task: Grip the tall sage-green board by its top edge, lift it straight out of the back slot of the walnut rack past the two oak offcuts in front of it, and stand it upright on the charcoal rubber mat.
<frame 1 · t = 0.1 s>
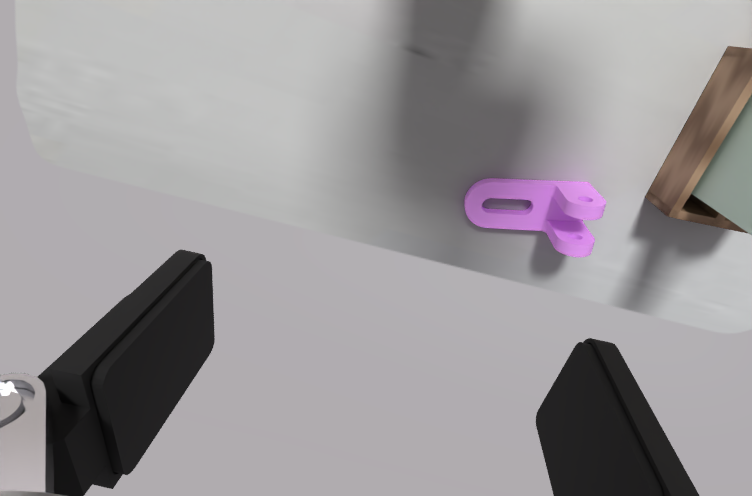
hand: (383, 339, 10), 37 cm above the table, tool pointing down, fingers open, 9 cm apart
walnut rack: (729, 138, 41), on the table
green board: (708, 133, 41), resting in walnut rack
bracket: (521, 201, 47), on the table
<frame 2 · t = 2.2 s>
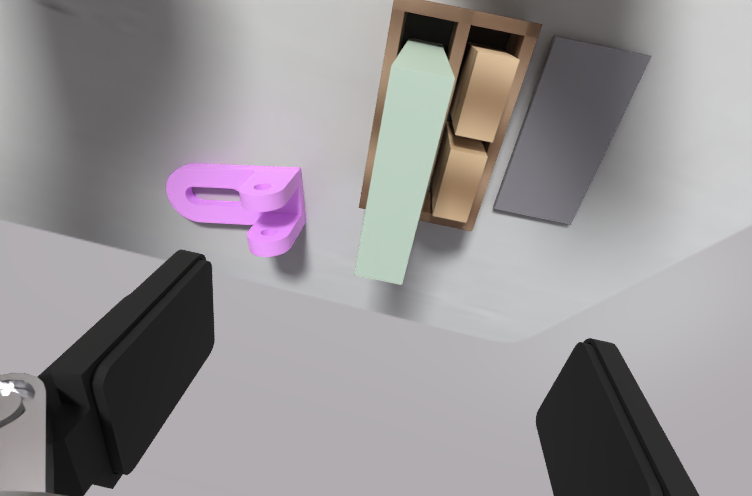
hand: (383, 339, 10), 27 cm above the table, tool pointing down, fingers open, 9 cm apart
walnut rack: (437, 113, 34), on the table
charcoal mat: (562, 138, 34), on the table
green board: (411, 107, 34), resting in walnut rack
oak offcut 1: (452, 153, 35), resting in walnut rack
bracket: (239, 191, 40), on the table
oak offcut 2: (473, 79, 32), resting in walnut rack
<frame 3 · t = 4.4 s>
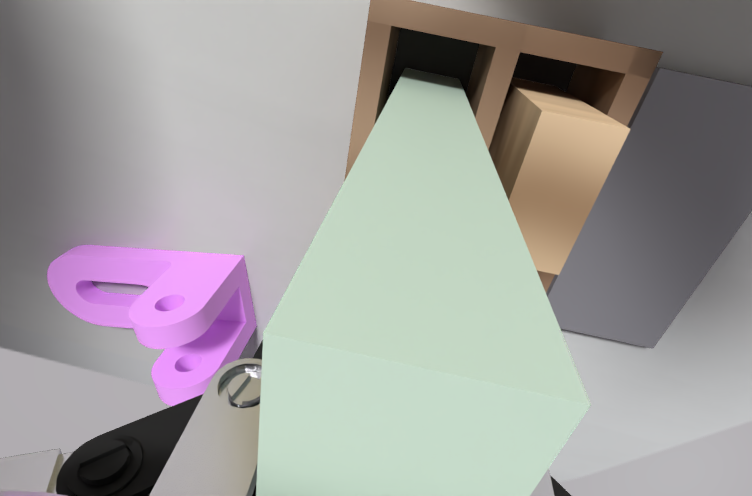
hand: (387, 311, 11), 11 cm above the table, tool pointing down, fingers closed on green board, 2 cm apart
walnut rack: (448, 184, 21), on the table
charcoal mat: (650, 226, 21), on the table
green board: (408, 176, 21), resting in walnut rack, touching gripper
bracket: (158, 282, 27), on the table
oak offcut 2: (509, 135, 20), resting in walnut rack
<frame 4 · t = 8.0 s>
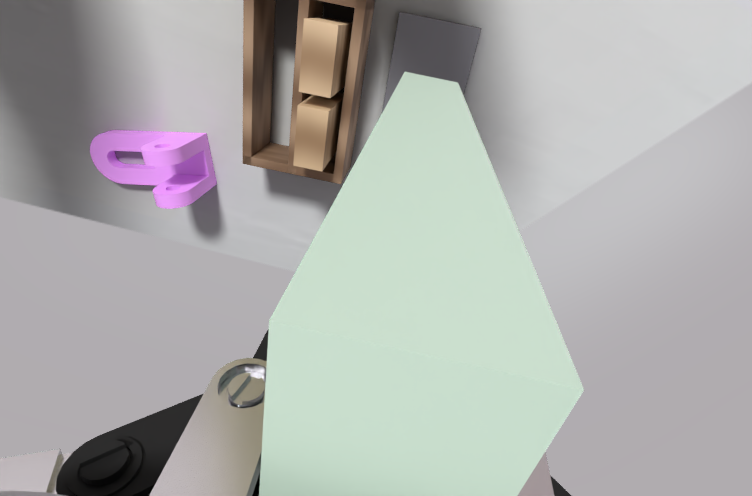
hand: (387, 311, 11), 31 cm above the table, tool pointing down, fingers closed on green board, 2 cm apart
walnut rack: (312, 81, 39), on the table
charcoal mat: (421, 104, 38), on the table
green board: (408, 178, 21), point 20 cm above the table, touching gripper
oak offcut 1: (331, 118, 40), resting in walnut rack
bracket: (156, 156, 45), on the table
oak offcut 2: (339, 51, 37), resting in walnut rack
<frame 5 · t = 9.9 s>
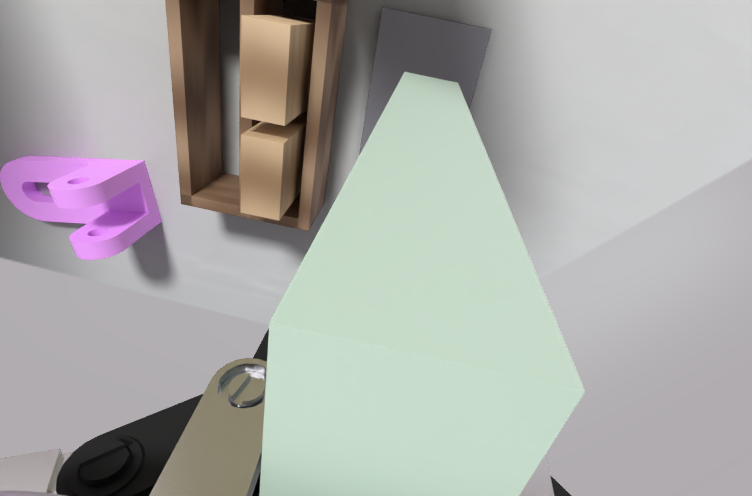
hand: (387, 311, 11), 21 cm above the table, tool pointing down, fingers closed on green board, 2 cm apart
walnut rack: (272, 97, 30), on the table
charcoal mat: (413, 126, 30), on the table
green board: (408, 178, 21), point 10 cm above the table, touching gripper
oak offcut 1: (298, 143, 31), resting in walnut rack
bracket: (86, 187, 36), on the table
oak offcut 2: (304, 59, 28), resting in walnut rack
when the fingers open (13 cm above the table, at t = 11.7 s): green board stays where it is, resting on charcoal mat.
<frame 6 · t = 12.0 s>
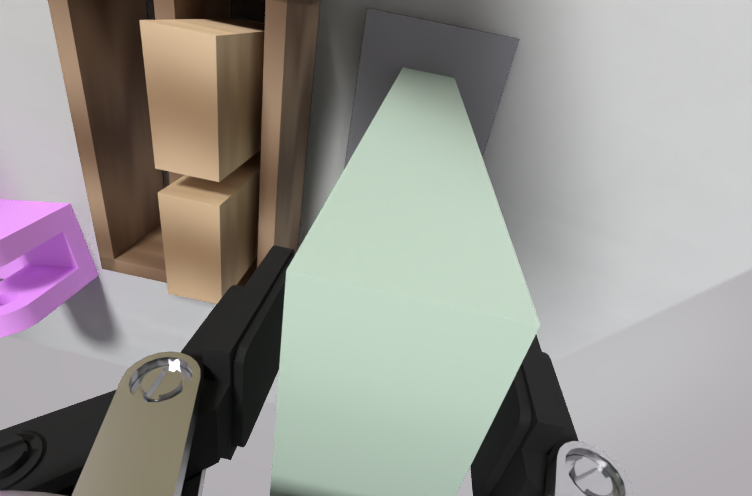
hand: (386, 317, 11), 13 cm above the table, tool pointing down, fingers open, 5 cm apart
walnut rack: (224, 127, 23), on the table
charcoal mat: (410, 166, 22), on the table
green board: (406, 171, 22), point 1 cm above the table, touching charcoal mat
oak offcut 1: (261, 185, 24), resting in walnut rack
bracket: (3, 233, 29), on the table
oak offcut 2: (264, 77, 21), resting in walnut rack
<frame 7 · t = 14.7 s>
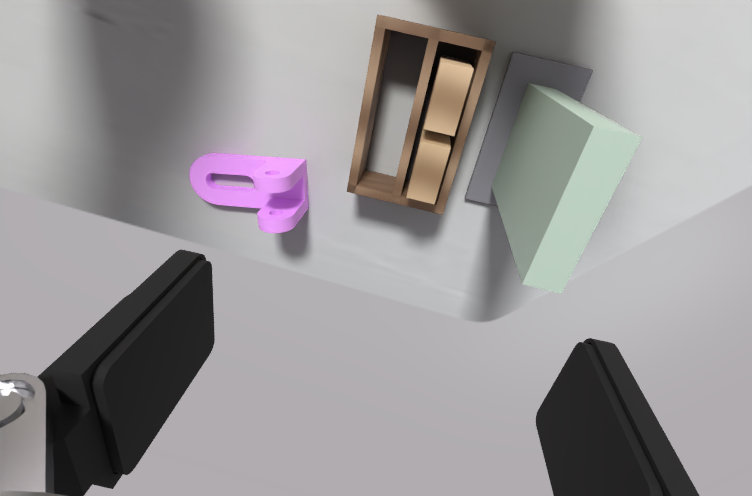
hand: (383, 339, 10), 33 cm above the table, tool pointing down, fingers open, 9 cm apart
walnut rack: (416, 113, 40), on the table
charcoal mat: (522, 138, 39), on the table
green board: (521, 140, 39), point 1 cm above the table, touching charcoal mat
oak offcut 1: (429, 148, 41), resting in walnut rack
bracket: (252, 178, 46), on the table
oak offcut 2: (446, 86, 38), resting in walnut rack
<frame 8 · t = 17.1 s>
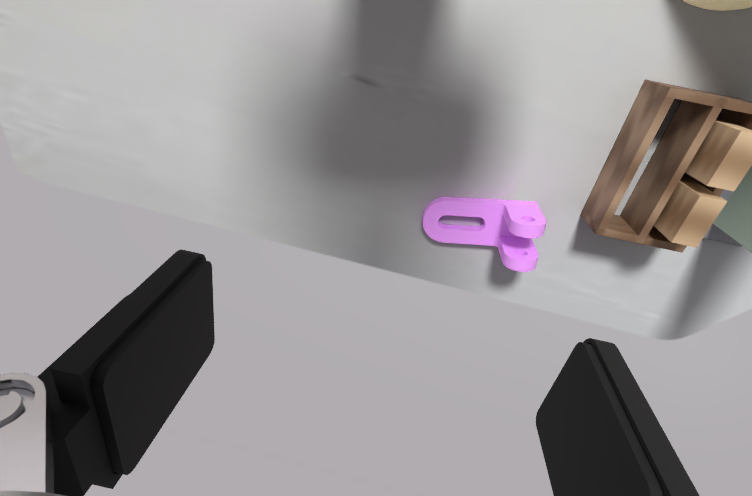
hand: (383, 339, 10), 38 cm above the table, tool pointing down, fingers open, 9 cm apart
walnut rack: (653, 161, 44), on the table
charcoal mat: (749, 181, 44), on the table
green board: (751, 184, 43), point 1 cm above the table, touching charcoal mat
oak offcut 1: (658, 191, 46), resting in walnut rack
bracket: (476, 218, 50), on the table
oak offcut 2: (688, 138, 43), resting in walnut rack
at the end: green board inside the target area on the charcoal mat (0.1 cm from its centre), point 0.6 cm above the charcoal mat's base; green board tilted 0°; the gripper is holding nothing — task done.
